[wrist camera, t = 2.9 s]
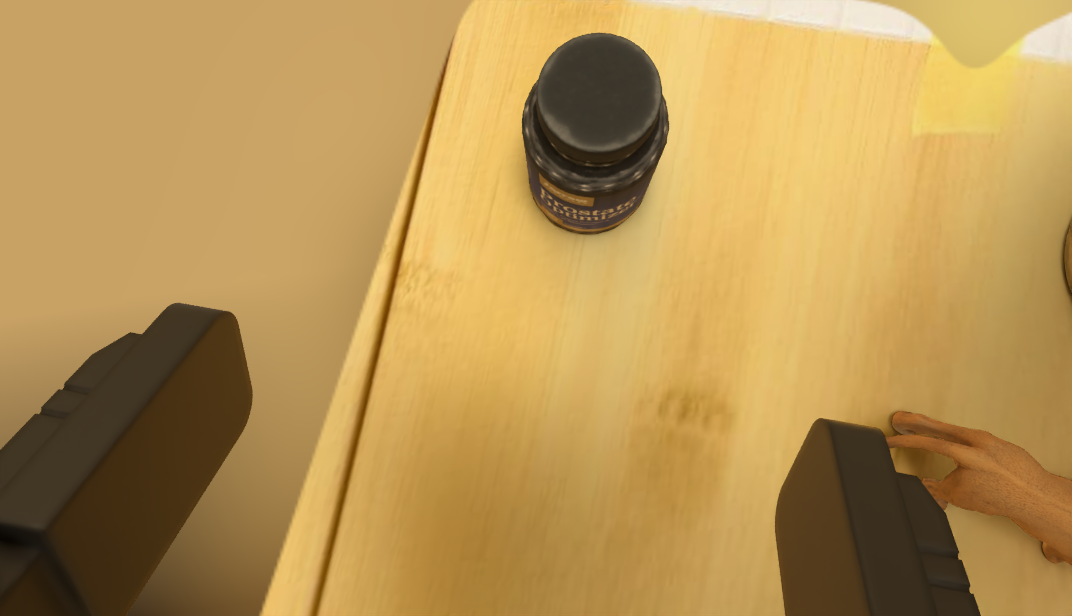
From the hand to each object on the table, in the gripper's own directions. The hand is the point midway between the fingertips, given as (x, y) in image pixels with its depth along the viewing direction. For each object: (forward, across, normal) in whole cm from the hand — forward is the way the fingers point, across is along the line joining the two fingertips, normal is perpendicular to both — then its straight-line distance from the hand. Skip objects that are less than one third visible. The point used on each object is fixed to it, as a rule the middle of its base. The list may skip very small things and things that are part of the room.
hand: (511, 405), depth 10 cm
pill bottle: (+27, 0, +11) cm, 29 cm away
